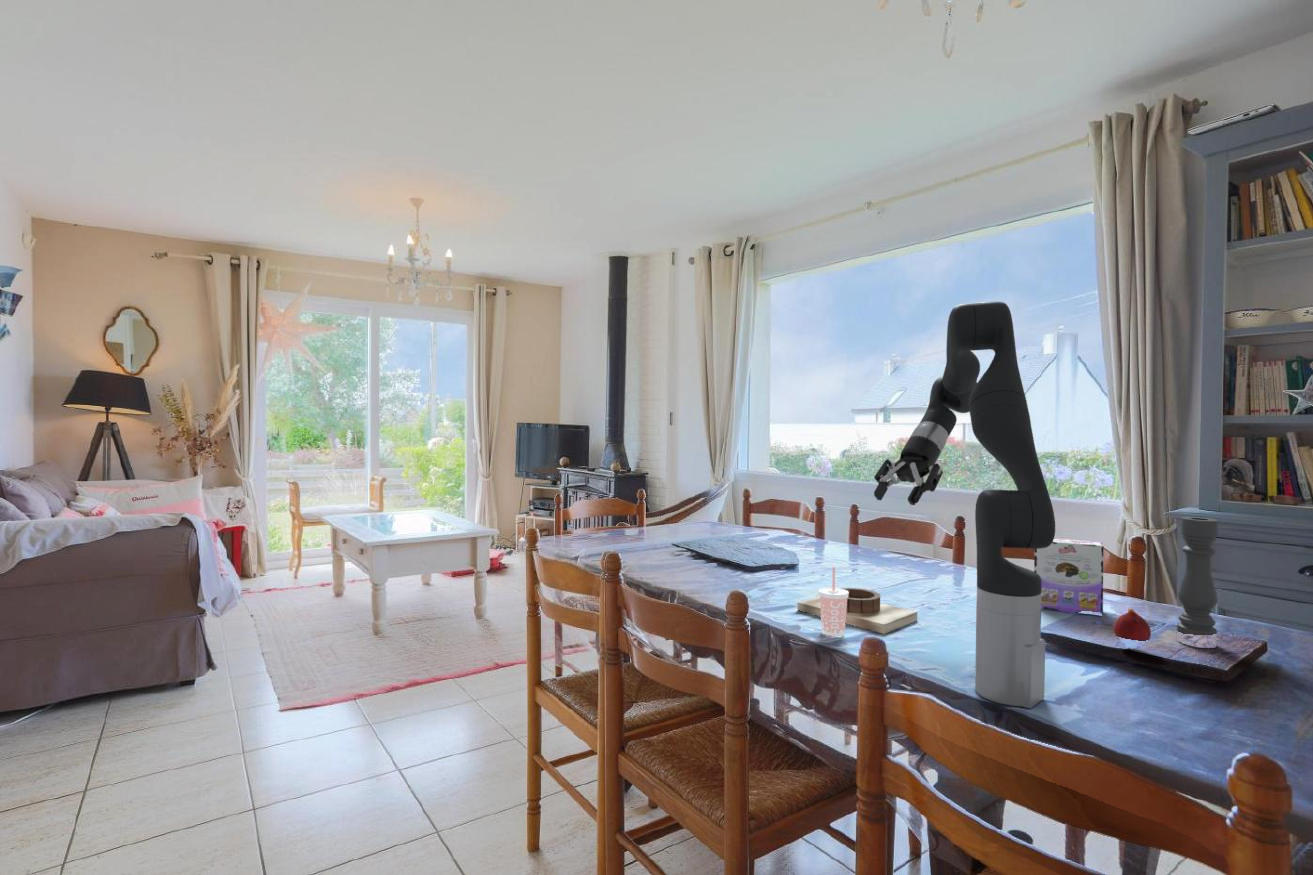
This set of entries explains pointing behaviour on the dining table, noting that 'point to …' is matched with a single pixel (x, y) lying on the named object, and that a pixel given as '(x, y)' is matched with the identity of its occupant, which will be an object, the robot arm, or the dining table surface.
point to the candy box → (1071, 575)
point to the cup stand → (866, 611)
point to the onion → (1132, 627)
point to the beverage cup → (833, 609)
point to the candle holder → (1198, 576)
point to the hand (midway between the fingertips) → (893, 500)
